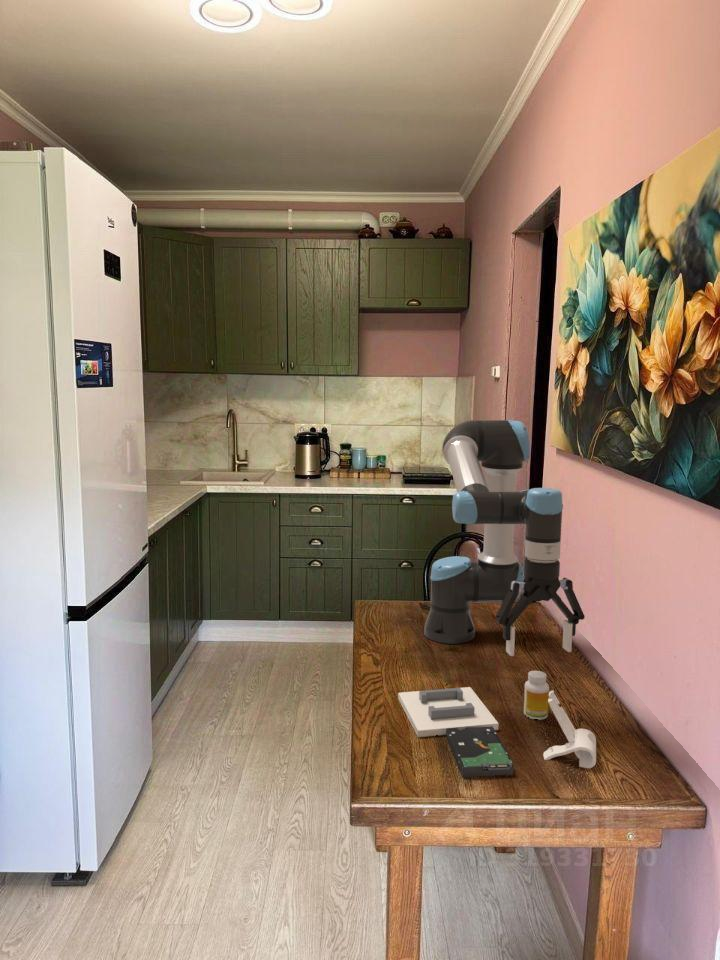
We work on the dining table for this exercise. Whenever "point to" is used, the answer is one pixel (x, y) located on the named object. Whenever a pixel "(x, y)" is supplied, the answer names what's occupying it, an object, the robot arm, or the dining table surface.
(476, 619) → the dining table surface
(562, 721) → the plastic part
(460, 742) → the disk drive
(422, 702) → the bottle holder
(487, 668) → the dining table surface
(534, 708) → the supplement bottle
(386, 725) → the dining table surface
